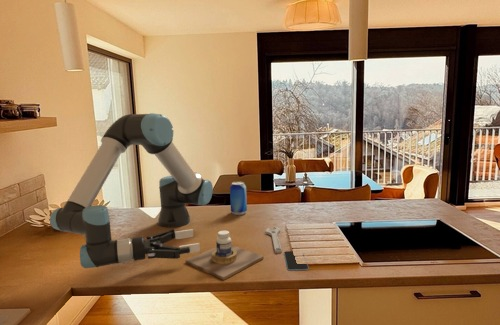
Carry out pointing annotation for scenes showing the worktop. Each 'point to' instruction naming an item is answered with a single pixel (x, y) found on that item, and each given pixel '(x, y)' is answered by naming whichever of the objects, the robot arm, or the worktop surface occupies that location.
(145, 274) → the worktop surface
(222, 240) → the pill bottle
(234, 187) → the beer can
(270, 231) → the adjustable wrench
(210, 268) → the socket plate
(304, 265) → the smartphone
